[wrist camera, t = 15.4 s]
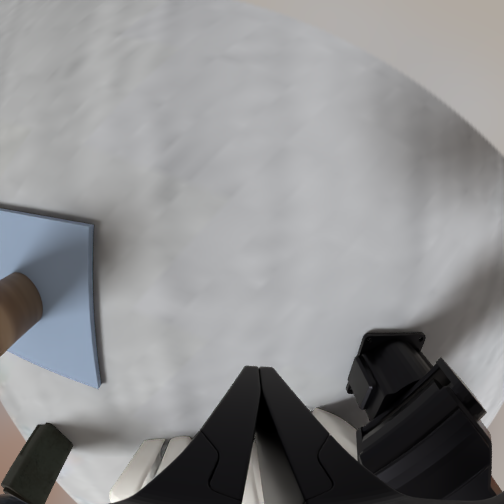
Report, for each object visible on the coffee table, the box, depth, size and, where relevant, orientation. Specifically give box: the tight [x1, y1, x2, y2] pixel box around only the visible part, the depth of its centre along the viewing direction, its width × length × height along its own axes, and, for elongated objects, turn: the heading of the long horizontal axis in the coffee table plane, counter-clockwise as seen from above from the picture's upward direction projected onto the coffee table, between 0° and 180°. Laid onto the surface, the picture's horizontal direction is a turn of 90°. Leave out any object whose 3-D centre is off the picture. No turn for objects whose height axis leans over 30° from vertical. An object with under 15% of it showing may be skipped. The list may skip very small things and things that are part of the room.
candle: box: [1, 423, 73, 504], centre depth 16 cm, size 5×5×25 cm
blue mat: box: [0, 208, 101, 389], centre depth 22 cm, size 16×16×1 cm
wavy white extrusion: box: [109, 408, 357, 504], centre depth 23 cm, size 35×16×11 cm, turn 106°
